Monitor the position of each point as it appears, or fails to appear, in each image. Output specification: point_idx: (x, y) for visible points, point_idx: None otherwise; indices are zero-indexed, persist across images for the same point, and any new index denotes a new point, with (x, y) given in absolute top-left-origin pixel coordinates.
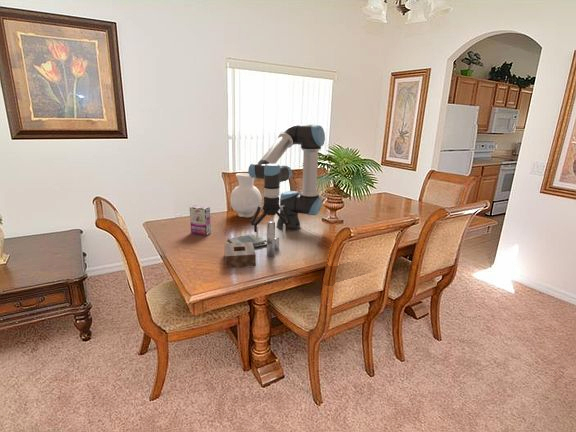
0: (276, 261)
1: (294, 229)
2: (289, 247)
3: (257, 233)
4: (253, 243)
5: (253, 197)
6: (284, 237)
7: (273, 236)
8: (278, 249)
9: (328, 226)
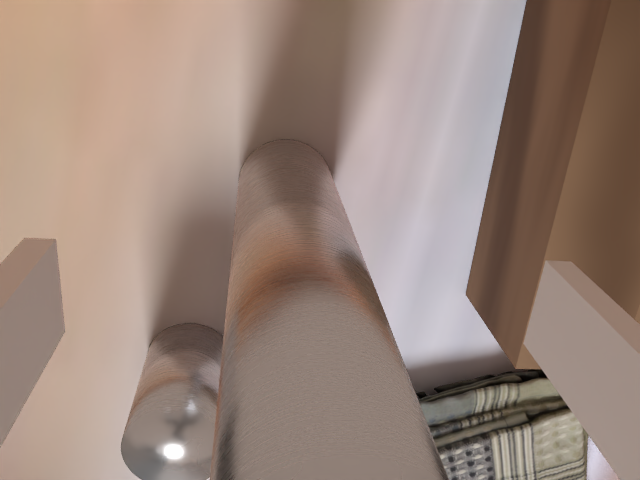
0: (250, 3)
1: None
2: None
3: (615, 315)
4: None
5: None
6: (36, 242)
7: (268, 259)
8: (157, 336)
9: None
